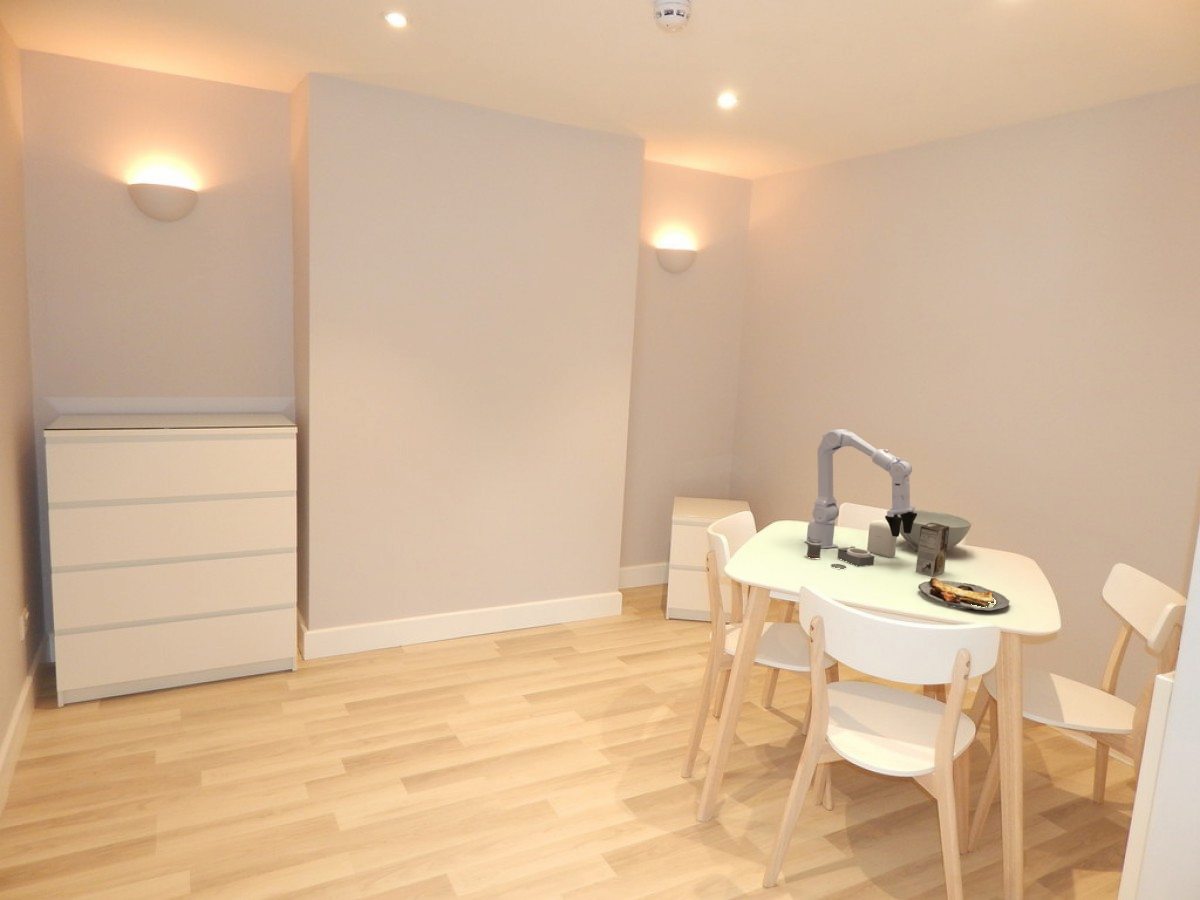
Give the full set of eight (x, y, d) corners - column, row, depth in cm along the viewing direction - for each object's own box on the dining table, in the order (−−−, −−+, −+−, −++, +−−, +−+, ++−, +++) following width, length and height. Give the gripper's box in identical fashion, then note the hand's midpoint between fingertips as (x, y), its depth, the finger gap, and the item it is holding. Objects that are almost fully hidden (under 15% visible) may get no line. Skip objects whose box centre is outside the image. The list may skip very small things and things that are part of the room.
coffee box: (925, 567, 267) (931, 522, 265) (944, 572, 263) (950, 526, 260) (914, 572, 261) (920, 525, 258) (933, 577, 256) (939, 529, 254)
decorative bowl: (878, 546, 291) (882, 515, 289) (907, 535, 310) (910, 506, 309) (952, 564, 273) (956, 531, 271) (977, 551, 292) (981, 520, 291)
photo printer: (864, 551, 284) (868, 518, 282) (871, 549, 287) (874, 517, 285) (890, 558, 276) (894, 524, 274) (896, 556, 279) (900, 523, 277)
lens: (804, 556, 273) (805, 539, 272) (813, 555, 275) (815, 538, 275) (813, 559, 269) (814, 543, 269) (822, 558, 272) (824, 541, 271)
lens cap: (827, 566, 263) (827, 564, 263) (838, 565, 265) (838, 563, 265) (838, 571, 259) (838, 568, 259) (849, 569, 261) (849, 567, 261)
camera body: (836, 558, 272) (837, 547, 272) (852, 556, 276) (853, 545, 275) (858, 566, 264) (859, 554, 263) (874, 564, 267) (875, 552, 267)
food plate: (910, 599, 232) (912, 588, 232) (926, 581, 252) (928, 571, 251) (1002, 622, 219) (1004, 610, 218) (1011, 601, 238) (1013, 590, 238)
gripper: (900, 499, 260) (900, 539, 261) (922, 494, 269) (923, 533, 270) (881, 497, 265) (881, 536, 266) (903, 493, 274) (904, 530, 275)
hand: (901, 534), depth 268 cm, fingers open, 7 cm apart
